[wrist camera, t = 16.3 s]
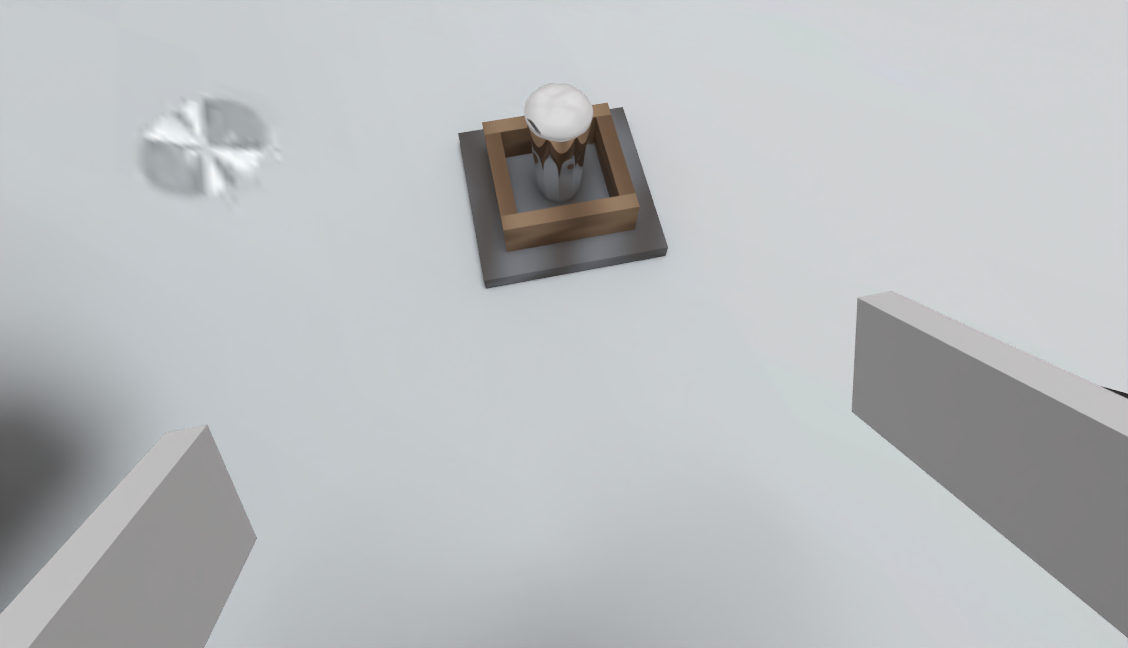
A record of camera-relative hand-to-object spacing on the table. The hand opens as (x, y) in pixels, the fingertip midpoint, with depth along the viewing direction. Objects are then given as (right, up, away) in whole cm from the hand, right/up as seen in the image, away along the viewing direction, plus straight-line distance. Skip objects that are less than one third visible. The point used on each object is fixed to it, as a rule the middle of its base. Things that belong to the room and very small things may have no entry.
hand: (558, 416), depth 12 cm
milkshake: (-1, +12, +34) cm, 37 cm away
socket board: (0, +12, +35) cm, 37 cm away
